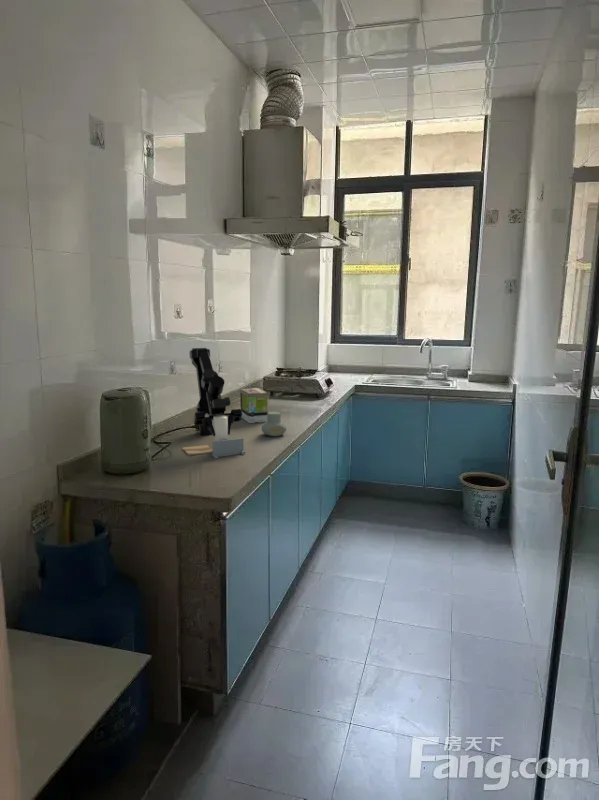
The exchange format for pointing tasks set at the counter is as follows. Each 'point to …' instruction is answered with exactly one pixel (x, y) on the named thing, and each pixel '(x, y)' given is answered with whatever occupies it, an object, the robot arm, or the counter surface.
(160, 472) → the counter surface
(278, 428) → the air freshener
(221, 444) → the screen
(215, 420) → the canister
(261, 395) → the tea box
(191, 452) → the mat
